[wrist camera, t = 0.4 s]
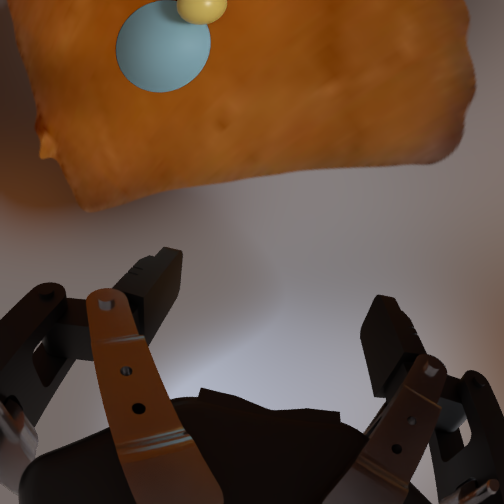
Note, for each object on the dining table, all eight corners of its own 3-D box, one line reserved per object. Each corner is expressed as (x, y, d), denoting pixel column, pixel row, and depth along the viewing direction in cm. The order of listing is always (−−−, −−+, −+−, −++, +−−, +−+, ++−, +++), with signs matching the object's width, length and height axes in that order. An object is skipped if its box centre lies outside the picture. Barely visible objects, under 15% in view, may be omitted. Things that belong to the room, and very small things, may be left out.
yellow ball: (177, 5, 25) (159, 3, 21) (212, -23, 23) (198, -30, 19) (204, 33, 28) (190, 34, 24) (241, 6, 25) (232, 2, 21)
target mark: (100, 50, 29) (99, 50, 29) (166, -18, 23) (165, -19, 23) (158, 110, 35) (157, 110, 35) (232, 48, 29) (232, 48, 29)
